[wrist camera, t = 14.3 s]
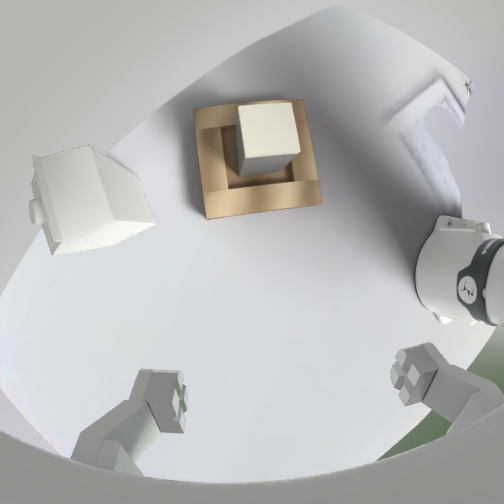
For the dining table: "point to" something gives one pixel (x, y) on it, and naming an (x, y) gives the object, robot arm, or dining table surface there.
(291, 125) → the plain greyish beige box
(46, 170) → the milk carton
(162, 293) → the dining table surface
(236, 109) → the square wooden tray
